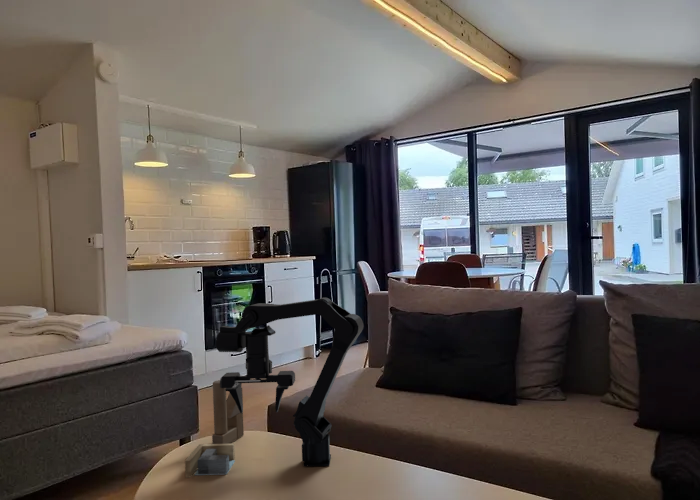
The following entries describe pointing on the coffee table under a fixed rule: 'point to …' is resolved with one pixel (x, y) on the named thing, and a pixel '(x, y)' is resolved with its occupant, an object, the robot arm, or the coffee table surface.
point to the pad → (218, 474)
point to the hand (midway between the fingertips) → (259, 412)
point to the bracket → (213, 463)
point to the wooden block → (226, 417)
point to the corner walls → (192, 460)
